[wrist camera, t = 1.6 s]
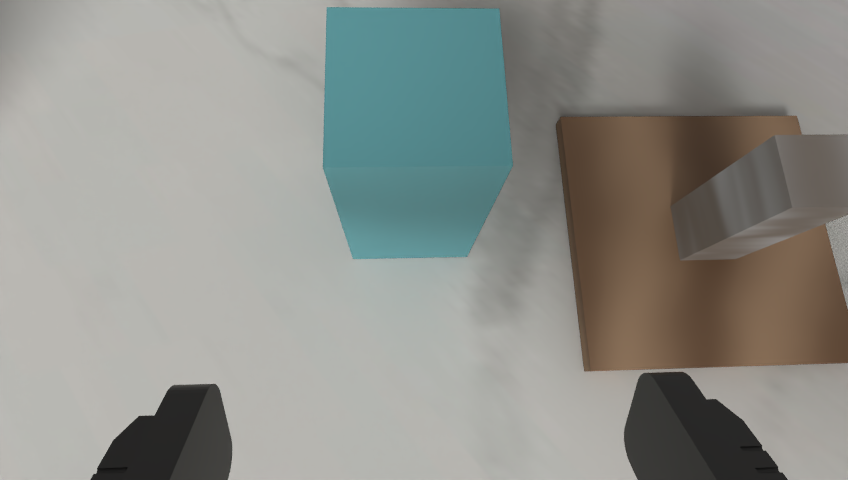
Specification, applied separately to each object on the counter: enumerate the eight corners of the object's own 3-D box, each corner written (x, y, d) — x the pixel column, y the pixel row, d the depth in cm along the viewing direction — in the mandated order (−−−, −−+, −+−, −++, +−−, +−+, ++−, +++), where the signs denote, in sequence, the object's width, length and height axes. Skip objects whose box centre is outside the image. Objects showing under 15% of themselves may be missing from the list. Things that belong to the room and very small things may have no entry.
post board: (584, 371, 23) (675, 360, 15) (555, 125, 26) (619, 17, 19) (845, 362, 23) (1056, 348, 16) (785, 123, 27) (935, 19, 19)
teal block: (353, 258, 24) (323, 167, 14) (353, 154, 25) (326, 7, 16) (467, 256, 24) (512, 165, 14) (460, 153, 25) (499, 8, 16)
